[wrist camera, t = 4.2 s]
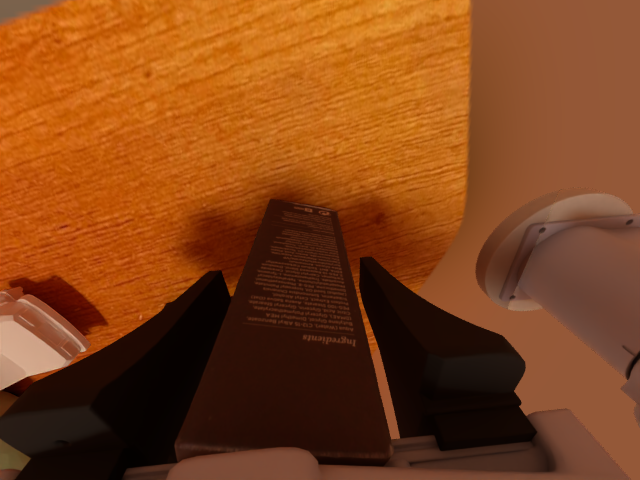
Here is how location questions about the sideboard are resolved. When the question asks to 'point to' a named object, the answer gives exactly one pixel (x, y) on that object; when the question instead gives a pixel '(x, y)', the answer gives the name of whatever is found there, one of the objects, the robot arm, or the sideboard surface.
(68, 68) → the sideboard surface
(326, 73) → the sideboard surface
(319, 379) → the box
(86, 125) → the sideboard surface
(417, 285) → the sideboard surface
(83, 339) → the toy car
